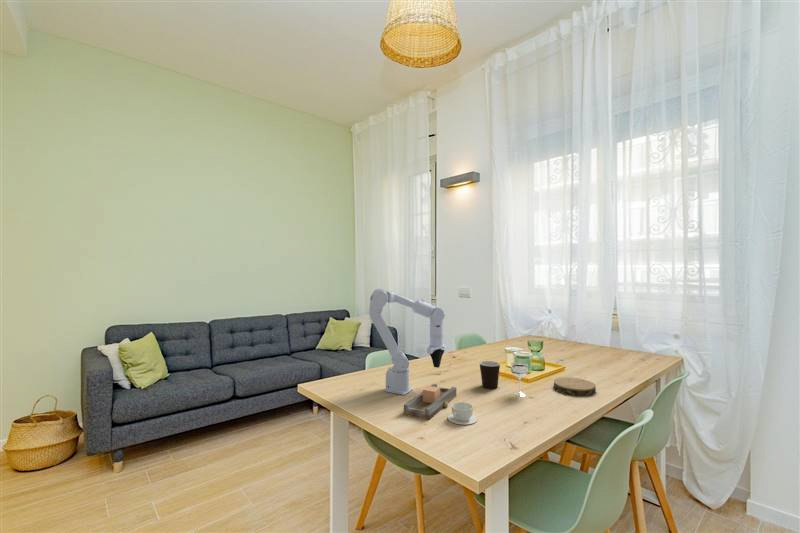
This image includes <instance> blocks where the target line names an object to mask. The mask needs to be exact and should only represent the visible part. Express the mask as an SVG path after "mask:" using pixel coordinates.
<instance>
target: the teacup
mask: <svg viewBox="0 0 800 533" xmlns="http://www.w3.org/2000/svg"><path fill="white" fill-rule="evenodd" d="M450 407H451V408H450V409H451V413H450V414H448V416H447V420H448V421H449V422H451V423H452V424H456V425H465V426H466V425H472V424H475V423H476V422H477V421H478V418H477V416H476V415H474V414H473V411H474V406H473V404H471V403H469V402H464V401H456V402H454V403H452V404H451V405H450Z"/></svg>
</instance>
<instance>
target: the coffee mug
mask: <svg viewBox="0 0 800 533" xmlns="http://www.w3.org/2000/svg"><path fill="white" fill-rule="evenodd" d="M479 368H480V370H479V371H480V377H481V385H482V388H484V389H487V390H496V389H497V388H498V387H499V378H500V368H501V364H500V362H497V361H492V360H483V361H480V362H479Z"/></svg>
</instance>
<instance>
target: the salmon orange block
mask: <svg viewBox="0 0 800 533" xmlns="http://www.w3.org/2000/svg"><path fill="white" fill-rule="evenodd" d="M438 387H439V386H437V387H432V386H431V385H427V386H426V387H424V388H423V389H422V392H423V402H427V403H433V402H434V401H436V400H437V399H438V398H439V397H440V388H438Z"/></svg>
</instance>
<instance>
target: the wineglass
mask: <svg viewBox="0 0 800 533" xmlns="http://www.w3.org/2000/svg"><path fill="white" fill-rule="evenodd" d="M510 365H511V367H510V372H511V374H512V375H514V377H516V378H517V379H518V391H515V392H513V395H515V396H517V397H525V396H527V393H526V392H523V391H521V383H522V382H521V379H523V378H524V377H526V376H527V375H528V374H529V368H528V366H529V364H528V363H525V362H517V361H515V362H512V363H510Z"/></svg>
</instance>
